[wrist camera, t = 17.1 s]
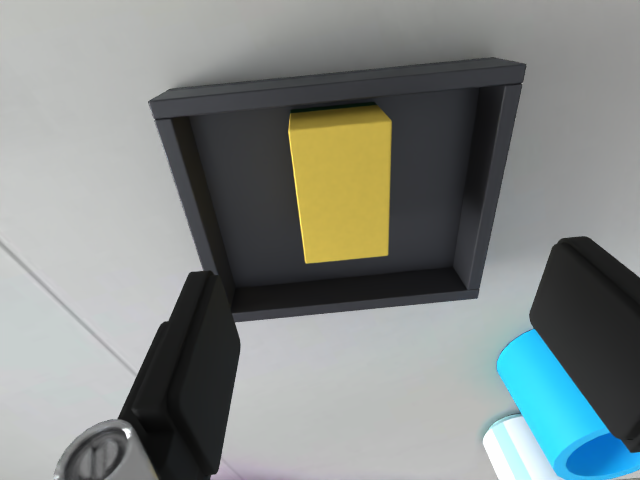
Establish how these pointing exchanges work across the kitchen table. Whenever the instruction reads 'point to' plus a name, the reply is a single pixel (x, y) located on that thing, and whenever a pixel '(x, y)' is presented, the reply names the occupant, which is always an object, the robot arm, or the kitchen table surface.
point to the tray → (405, 184)
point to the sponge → (342, 180)
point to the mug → (561, 414)
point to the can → (516, 451)
